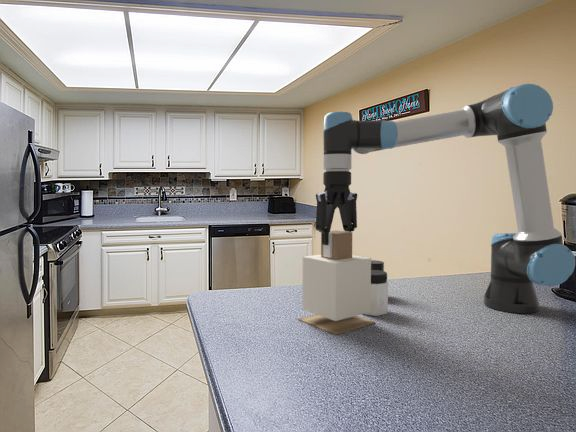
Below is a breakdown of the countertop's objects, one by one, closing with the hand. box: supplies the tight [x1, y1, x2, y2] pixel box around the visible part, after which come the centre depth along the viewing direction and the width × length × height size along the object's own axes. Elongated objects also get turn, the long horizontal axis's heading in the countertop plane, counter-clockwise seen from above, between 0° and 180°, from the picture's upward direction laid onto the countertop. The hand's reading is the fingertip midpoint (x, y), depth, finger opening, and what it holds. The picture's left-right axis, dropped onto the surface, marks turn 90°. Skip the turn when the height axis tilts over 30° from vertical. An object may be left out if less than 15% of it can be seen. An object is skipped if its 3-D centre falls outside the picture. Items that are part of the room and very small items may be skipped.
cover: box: [302, 230, 372, 321], centre depth 114 cm, size 13×13×22 cm
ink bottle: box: [371, 259, 385, 271], centre depth 140 cm, size 10×9×12 cm
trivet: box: [297, 314, 376, 336], centre depth 114 cm, size 15×15×1 cm
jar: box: [363, 270, 389, 317], centre depth 123 cm, size 9×8×12 cm
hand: (336, 255), depth 113 cm, fingers closed on cover, 6 cm apart
